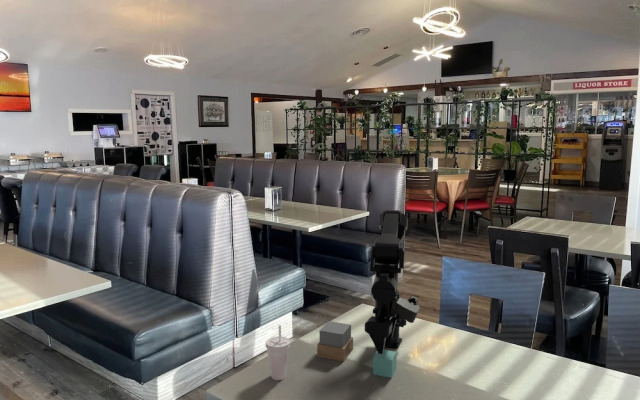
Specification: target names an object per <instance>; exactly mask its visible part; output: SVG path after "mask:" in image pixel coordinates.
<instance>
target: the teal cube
mask: <svg viewBox="0 0 640 400" xmlns="http://www.w3.org/2000/svg"><path fill="white" fill-rule="evenodd" d="M397 356H398V355H397V351H394V350H393V351H392V350H388V349H384V350H383V354H379V353H378V351H377V350H376V352H375V353H374V355H373V360H372V361H373V362H372V374H373V375H374V376H379V377H380V376H381V377H383V378H388V379H392V378H393V376H394V374H395V372H396V370H397Z"/></svg>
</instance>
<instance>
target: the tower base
mask: <svg viewBox="0 0 640 400" xmlns="http://www.w3.org/2000/svg"><path fill="white" fill-rule="evenodd" d="M316 349H317V350H316V353H317V355H316V356H317V357H318V358H323V359H329V360H334V361H338V362H343V363H344V362H345V361H346V360H347V359H348V357H349V355H350V354H351V353H352V352H353V350H354V337H352V336H351V338H350V340H349V341H348V342H347V343H346V345H345V346H344V347H343V348H340V347H334V346H329V345H324V344H320V341H319V342H318V343H316Z"/></svg>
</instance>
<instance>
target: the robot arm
mask: <svg viewBox="0 0 640 400" xmlns="http://www.w3.org/2000/svg"><path fill="white" fill-rule="evenodd" d="M408 223H409V222H408V215H407V214H404V213H403V212H402V211H401V210H400V209H399V210H398V209H386V210H383V212H382V213H380V214H379V220H378V228H379V230H381V235H380V236H377V237H376V238H375V241H374V244H373V245H372V246H371V255H370V268H369V272H375V278H374V280H373V283H372V285H371V288H370V291H371V292H370V293H371V296H372V298H373V299H374V307H373V309H372V314H374V316H373V315H372V316H370V317H369V318H368V319H367V320H366V322H365V323H364V332H365V333H367V334H368V335H369V337H370V339H371V341H372V343H373V345H374V347H375V349H376V352H377V351H378V353H379V354H383V350H385V348H392V349H398V348H399V347H400V345H401V344H402V342H403V338H402V337H400V328H404V327H405V326H407V322H408V323H410V324H414V322H415V320H416V319H417V316H418V314H419V311H420V310H421V307H420V304H419V302H418V298H417V297H415V296H410V297H409V298H408V299H407V298H402V297H401V293H400V291H399V290H398V289H399V287H398V286H399V274H401V273H402V269H404V267H405V251H404V248H403V246H401V244H402V243H401V242H402V241H403V240H404V238H405V236H406V231H408V225H409V224H408ZM374 263H375V264H374Z"/></svg>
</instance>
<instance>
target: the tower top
mask: <svg viewBox="0 0 640 400" xmlns="http://www.w3.org/2000/svg"><path fill="white" fill-rule="evenodd" d="M351 337H352V324H349V323H342V322H337V321H331V320H328V321H327V322H326V323H325V324H324V325H323V326H322V327H321V328H320V329H319V342H320V344H324V345H329V346H334V347H340V348H343V347H344V346H345V345H346V343H347V342H348V341H349V340H350V338H351Z"/></svg>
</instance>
